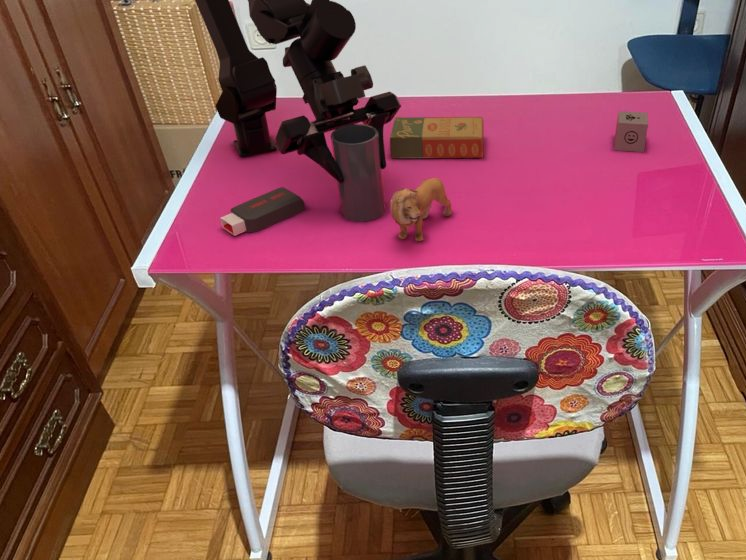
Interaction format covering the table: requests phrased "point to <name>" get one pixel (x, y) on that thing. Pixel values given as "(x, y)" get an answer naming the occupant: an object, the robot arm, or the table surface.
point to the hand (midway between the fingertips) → (363, 175)
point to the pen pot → (359, 172)
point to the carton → (437, 137)
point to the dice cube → (631, 131)
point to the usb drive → (262, 211)
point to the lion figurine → (417, 205)
